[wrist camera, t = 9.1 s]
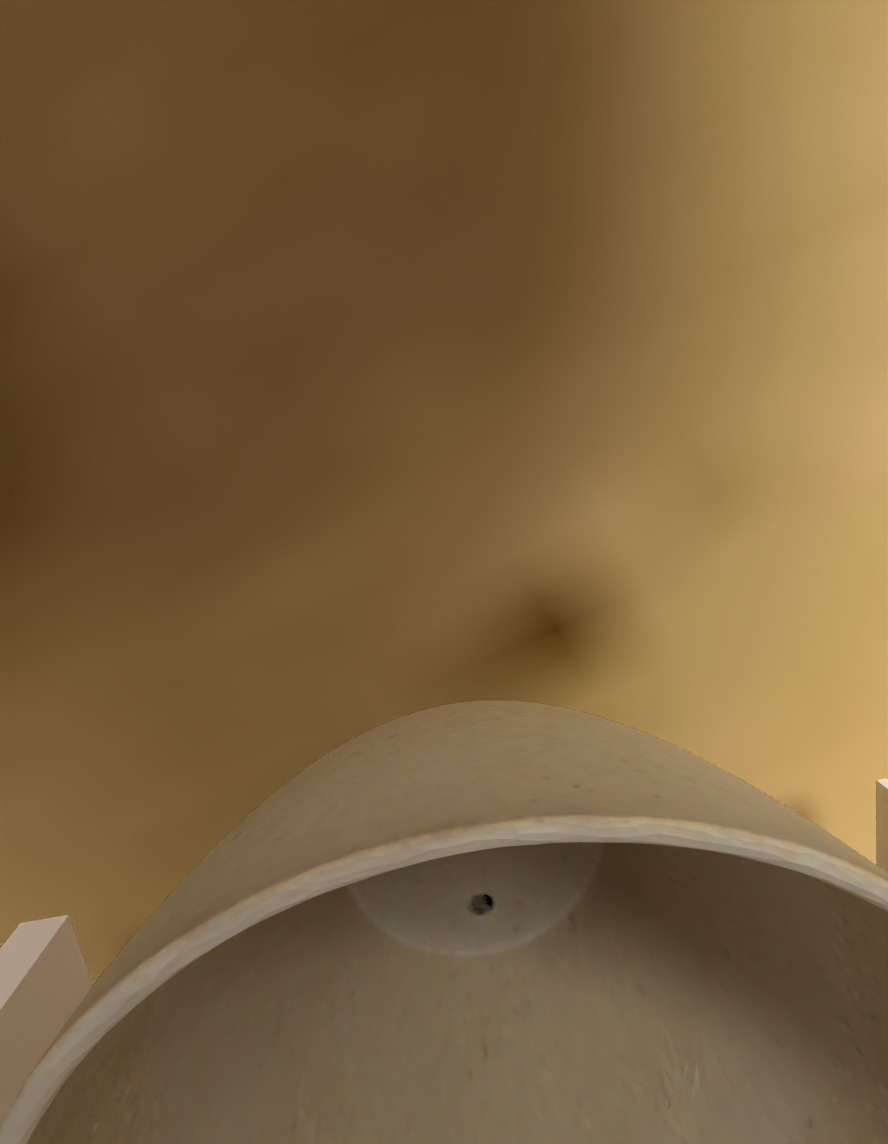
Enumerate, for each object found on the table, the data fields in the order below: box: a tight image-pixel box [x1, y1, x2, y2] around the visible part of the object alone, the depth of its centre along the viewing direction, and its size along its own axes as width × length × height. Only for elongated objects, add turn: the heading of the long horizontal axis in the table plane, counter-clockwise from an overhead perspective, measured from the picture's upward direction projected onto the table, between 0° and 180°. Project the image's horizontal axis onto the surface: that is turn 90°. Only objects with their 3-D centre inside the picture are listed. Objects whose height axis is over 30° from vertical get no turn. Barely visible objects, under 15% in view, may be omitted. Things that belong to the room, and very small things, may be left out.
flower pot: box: [0, 700, 888, 1144], centre depth 9 cm, size 10×10×7 cm
